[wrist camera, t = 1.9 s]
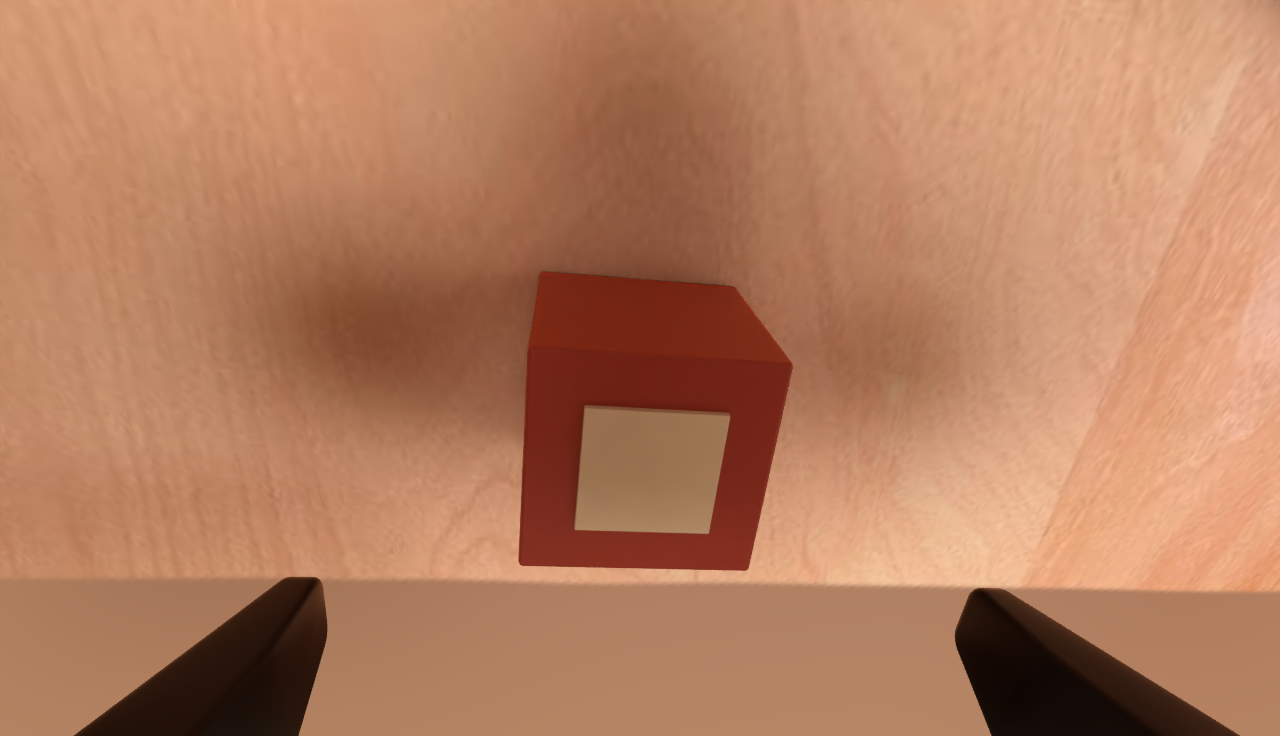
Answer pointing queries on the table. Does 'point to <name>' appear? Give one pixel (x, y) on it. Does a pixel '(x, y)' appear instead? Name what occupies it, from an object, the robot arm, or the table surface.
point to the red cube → (646, 424)
